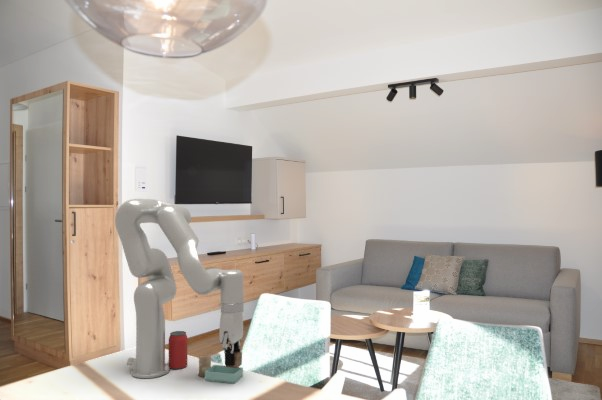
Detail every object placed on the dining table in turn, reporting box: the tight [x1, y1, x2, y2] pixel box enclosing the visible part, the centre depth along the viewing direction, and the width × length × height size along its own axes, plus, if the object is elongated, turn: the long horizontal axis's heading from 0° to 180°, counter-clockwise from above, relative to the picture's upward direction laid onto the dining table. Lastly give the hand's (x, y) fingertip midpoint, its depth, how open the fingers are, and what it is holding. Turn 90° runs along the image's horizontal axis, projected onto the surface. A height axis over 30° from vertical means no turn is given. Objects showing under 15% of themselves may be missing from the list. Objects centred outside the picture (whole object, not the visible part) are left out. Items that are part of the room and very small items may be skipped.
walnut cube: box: [225, 351, 243, 368], centre depth 161 cm, size 4×4×4 cm
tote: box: [204, 364, 244, 385], centre depth 162 cm, size 10×7×3 cm, turn 75°
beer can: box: [168, 330, 189, 370], centre depth 174 cm, size 7×7×12 cm
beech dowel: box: [198, 355, 212, 378], centre depth 166 cm, size 4×4×6 cm
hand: (232, 362), depth 161 cm, fingers closed on walnut cube, 4 cm apart
